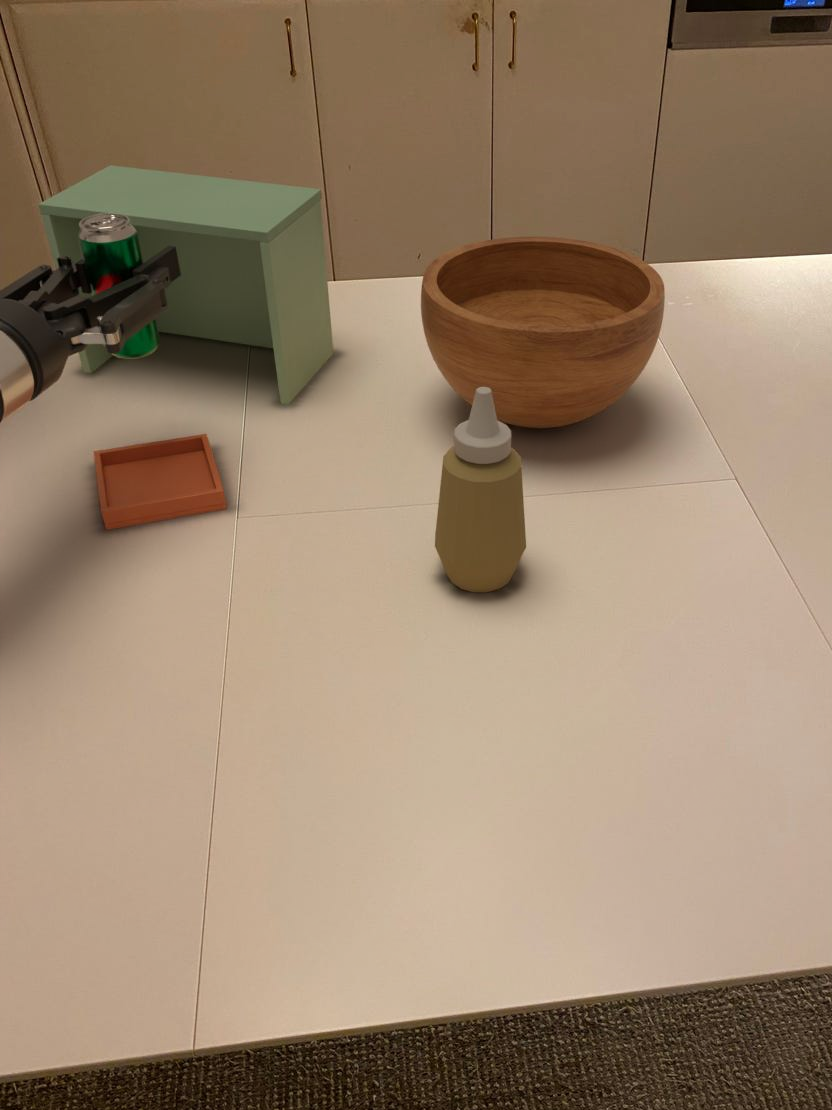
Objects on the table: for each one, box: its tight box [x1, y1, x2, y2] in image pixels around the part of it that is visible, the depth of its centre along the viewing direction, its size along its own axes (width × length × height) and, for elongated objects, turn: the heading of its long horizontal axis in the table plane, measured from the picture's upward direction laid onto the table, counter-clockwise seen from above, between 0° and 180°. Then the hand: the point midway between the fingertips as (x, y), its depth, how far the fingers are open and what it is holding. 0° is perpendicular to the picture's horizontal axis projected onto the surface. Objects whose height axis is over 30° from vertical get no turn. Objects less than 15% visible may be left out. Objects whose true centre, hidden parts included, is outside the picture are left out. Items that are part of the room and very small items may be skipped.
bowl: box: [420, 236, 666, 429], centre depth 105 cm, size 25×25×15 cm
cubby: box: [37, 165, 335, 406], centre depth 112 cm, size 14×26×19 cm, turn 74°
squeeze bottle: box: [434, 387, 527, 593], centre depth 82 cm, size 8×8×18 cm
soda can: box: [78, 213, 161, 360], centre depth 91 cm, size 5×5×12 cm
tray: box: [92, 433, 228, 531], centre depth 97 cm, size 11×11×2 cm
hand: (147, 257), depth 94 cm, fingers closed on soda can, 5 cm apart
